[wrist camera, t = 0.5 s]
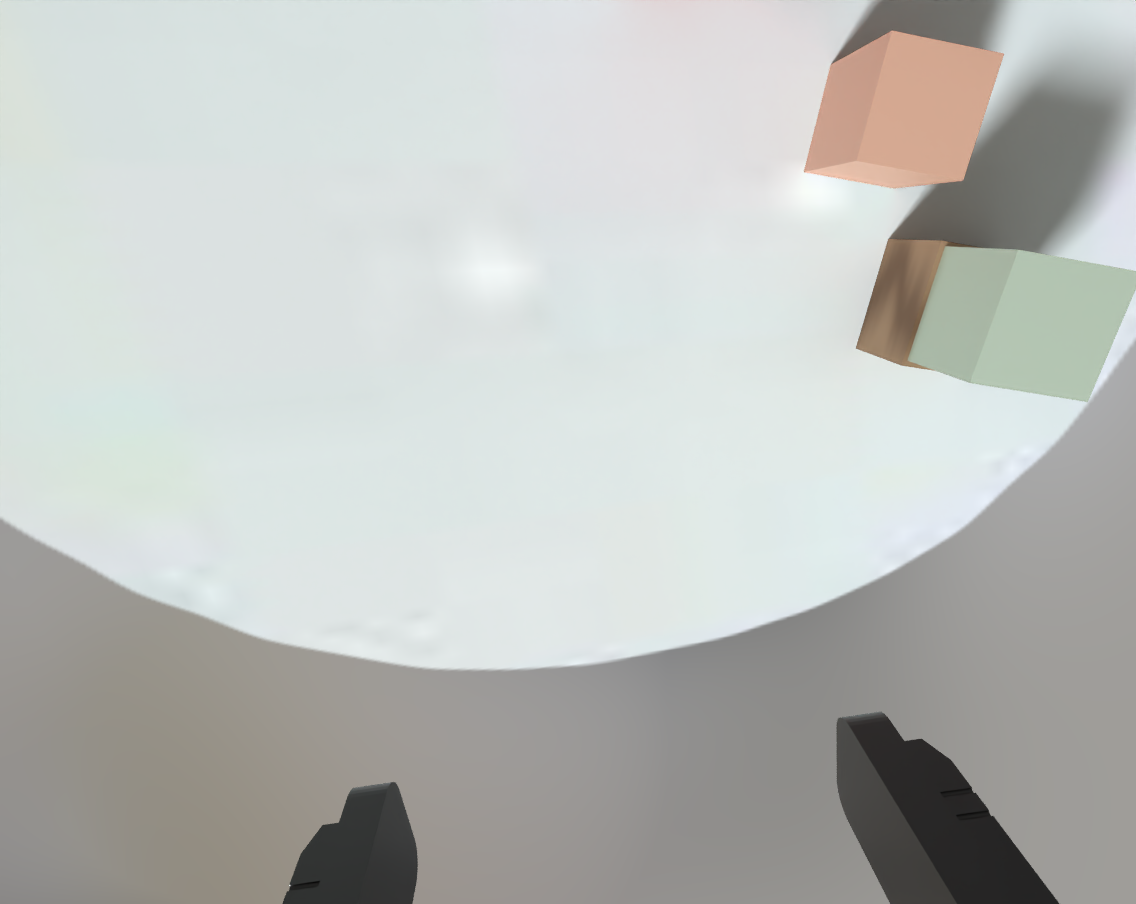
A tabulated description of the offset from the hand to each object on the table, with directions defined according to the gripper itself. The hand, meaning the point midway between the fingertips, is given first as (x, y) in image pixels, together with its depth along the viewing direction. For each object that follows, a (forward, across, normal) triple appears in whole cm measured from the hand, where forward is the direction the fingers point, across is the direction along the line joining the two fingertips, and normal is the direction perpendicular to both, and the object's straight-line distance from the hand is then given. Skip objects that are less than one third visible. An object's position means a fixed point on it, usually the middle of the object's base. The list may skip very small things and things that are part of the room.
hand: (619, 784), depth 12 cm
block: (+28, -17, -11) cm, 35 cm away
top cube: (+22, -21, -2) cm, 31 cm away
